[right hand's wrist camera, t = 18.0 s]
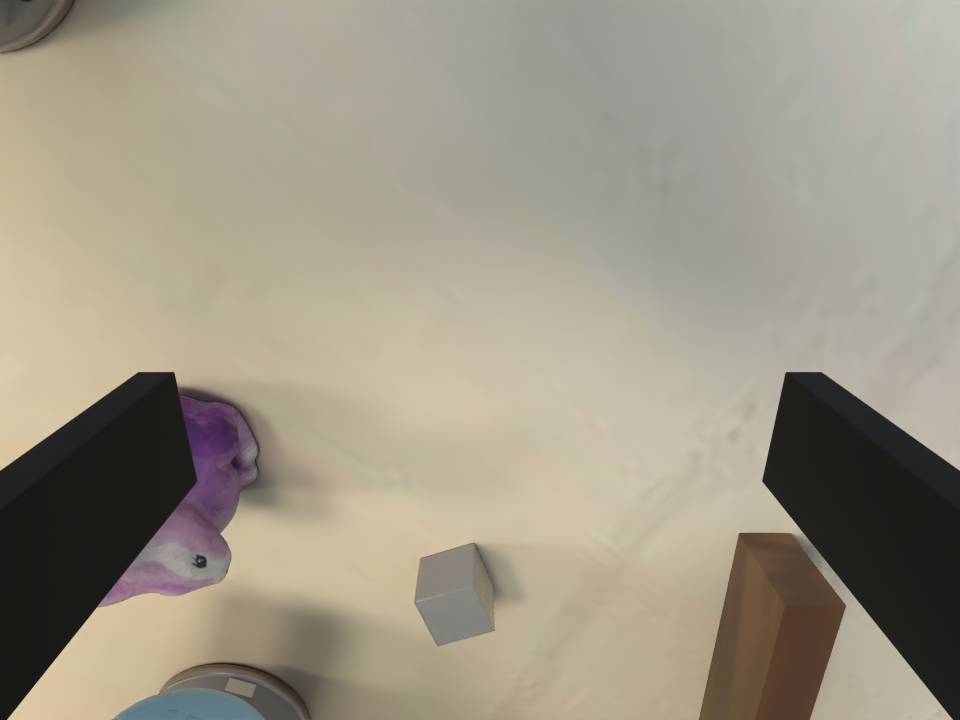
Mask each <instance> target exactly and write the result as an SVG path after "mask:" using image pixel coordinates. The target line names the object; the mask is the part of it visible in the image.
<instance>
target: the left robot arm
mask: <svg viewBox="0 0 960 720" xmlns="http://www.w3.org/2000/svg"><path fill="white" fill-rule="evenodd" d="M112 720H310V718H309V714H308V712H307V709H306V707H305V705H304V704H303V702H302V701H301V699H300V698H299V697H298V696H297V695H296V693H295V692H294V691H292V690H291V689H290V688H289V687H288V686H286V685H285V684H284V683H282V682H281V681H279V680H278V679H276V678H274V677H272V676H270V675H268V674H266V673H263V672H261V671H258V670H255V669H251V668H247V667H243V666H237V665H227V664H214V665H204V666H199V667H195V668H191V669H188V670H186V671H183V672H181V673H179V674H177V675H176V676H174V677H173V678H171V679H170V680H169V681H168V682H167V683H166V684H165V685H164V686H163V687H162V689H161V690H160V692H159V693H158V695H154V696H151V697H148V698H146V699H144V700H142V701H140V702H138V703H136V704H134V705H132V706H131V707H129V708H127V709H126V710H124V711H123V712H121V713H120V714H118V715H117V716H116V717H115V718H113V719H112Z"/></svg>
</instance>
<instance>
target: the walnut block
mask: <svg viewBox="0 0 960 720" xmlns="http://www.w3.org/2000/svg"><path fill="white" fill-rule="evenodd" d="M845 608H846V605H845V604H844V602H843V601H842V600H841V599H840V597H839V596H838V595H837V593H836V592H835V591H834V589H833V588H832V587H831V586H830V584H829V583H828V582H827V580H826V579H825V578H824V576H823V575H822V574H821V573H820V571H819V570H818V569H817V567H816V566H815V565H814V563H813V562H812V561H811V560H810V558H809V557H808V556H807V554H806V553H805V552H804V550H803V549H802V548H801V547H800V545H799V544H798V543H797V541H796V540H795V539H794V537H793V536H792V535H791V534H755V533H740V534H739V537H738V542H737V547H736V551H735V556H734V561H733V565H732V570H731V575H730V579H729V584H728V588H727V593H726V598H725V602H724V607H723V612H722V616H721V621H720V626H719V630H718V635H717V639H716V644H715V649H714V653H713V658H712V663H711V667H710V672H709V677H708V681H707V686H706V690H705V695H704V700H703V704H702V709H701V714H700V718H699V720H810V717H811V714H812V711H813V708H814V705H815V702H816V699H817V695H818V692H819V689H820V686H821V683H822V680H823V677H824V673H825V670H826V667H827V664H828V661H829V658H830V655H831V652H832V648H833V645H834V642H835V639H836V636H837V633H838V630H839V626H840V623H841V620H842V617H843V614H844V611H845Z"/></svg>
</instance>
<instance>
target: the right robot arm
mask: <svg viewBox="0 0 960 720" xmlns="http://www.w3.org/2000/svg"><path fill="white" fill-rule="evenodd" d="M72 2H73V0H0V53H1V52H7V51H13V50H16V49H19V48H23V47H25V46H27V45H30V44H32V43H34V42H36V41H37V40H39V39H41V38H42V37H44V36H45V35H46V34H47V33H49V32H50V31H51V30H52V29H53V28H54V27H55V26H56V25H57V24H58V23H59V22H60V21H61V20H62V18H63V17H64V15H65V14H66V13H67V11H68V9H69V8H70V6H71V4H72ZM197 482H198V480H197V476H196V471H195V466H194V462H193V457H192V452H191V448H190V443H189V439H188V434H187V429H186V425H185V420H184V415H183V411H182V406H181V401H180V397H179V392H178V388H177V383H176V378H175V374H174V372H138V373H137V374H135V375H134V376H133V377H131V378H130V379H128V380H127V381H126V382H124V383H123V384H121V385H120V386H119V387H117V388H116V389H114V390H113V391H111V392H110V393H109V394H107V395H106V396H104V397H103V398H102V399H100V400H99V401H97V402H96V403H95V404H93V405H92V406H90V407H89V408H88V409H86V410H85V411H83V412H82V413H81V414H79V415H78V416H76V417H75V418H74V419H72V420H71V421H69V422H68V423H67V424H65V425H64V426H62V427H61V428H60V429H58V430H57V431H55V432H54V433H53V434H51V435H50V436H48V437H47V438H46V439H44V440H43V441H41V442H40V443H39V444H37V445H36V446H34V447H33V448H32V449H30V450H29V451H27V452H26V453H25V454H23V455H22V456H20V457H19V458H18V459H16V460H15V461H13V462H12V463H11V464H9V465H8V466H6V467H5V468H4V469H2V470H1V471H0V720H7V719H8V718H9V717H10V715H11V714H12V713H13V712H14V710H15V709H16V708H17V707H18V705H19V704H20V703H21V702H22V700H23V699H24V698H25V697H26V695H27V694H28V693H29V692H30V690H31V689H32V688H33V687H34V685H35V684H36V683H37V682H38V680H39V679H40V678H41V677H42V675H43V674H44V673H45V672H46V670H47V669H48V668H49V667H50V665H51V664H52V663H53V662H54V660H55V659H56V658H57V657H58V655H59V654H60V653H61V652H62V650H63V649H64V648H65V647H66V645H67V644H68V643H69V642H70V640H71V639H72V638H73V637H74V635H75V634H76V633H77V632H78V630H79V629H80V628H81V627H82V625H83V624H84V623H85V622H86V620H87V619H88V618H89V617H90V615H91V614H92V613H93V612H94V610H95V609H96V608H97V607H98V605H99V604H100V603H101V602H102V600H103V599H104V598H105V597H106V595H107V594H108V593H109V592H110V590H111V589H112V588H113V587H114V585H115V584H116V583H117V582H118V580H119V579H120V578H121V577H122V575H123V574H124V573H125V572H126V570H127V569H128V568H129V567H130V565H131V564H132V563H133V562H134V560H135V559H136V558H137V557H138V555H139V554H140V553H141V552H142V550H143V549H144V548H145V547H146V545H147V544H148V543H149V542H150V540H151V539H152V538H153V537H154V535H155V534H156V533H157V532H158V530H159V529H160V528H161V527H162V525H163V524H164V523H165V522H166V520H167V519H168V518H169V517H170V515H171V514H172V513H173V512H174V510H175V509H176V508H177V507H178V505H179V504H180V503H181V502H182V500H183V499H184V498H185V497H186V495H187V494H188V493H189V492H190V490H191V489H192V488H193V487H194V485H195V484H196V483H197ZM762 482H763V483H764V484H765V485H766V487H767V488H768V489H769V490H770V492H771V493H772V494H773V495H774V497H775V498H776V499H777V500H778V502H779V503H780V504H781V505H782V507H783V508H784V509H785V510H786V512H787V513H788V514H789V515H790V517H791V518H792V519H793V520H794V522H795V523H796V524H797V525H798V527H799V528H800V529H801V530H802V532H803V533H804V534H805V535H806V537H807V538H808V539H809V540H810V542H811V543H812V544H813V545H814V547H815V548H816V549H817V550H818V552H819V553H820V554H821V555H822V557H823V558H824V559H825V560H826V562H827V563H828V564H829V565H830V567H831V568H832V569H833V570H834V572H835V573H836V574H837V575H838V577H839V578H840V579H841V580H842V582H843V583H844V584H845V585H846V587H847V588H848V589H849V590H850V592H851V593H852V594H853V595H854V597H855V598H856V599H857V600H858V602H859V603H860V604H861V605H862V607H863V608H864V609H865V610H866V612H867V613H868V614H869V615H870V617H871V618H872V619H873V620H874V622H875V623H876V624H877V625H878V627H879V628H880V629H881V630H882V632H883V633H884V634H885V635H886V637H887V638H888V639H889V640H890V642H891V643H892V644H893V645H894V647H895V648H896V649H897V650H898V652H899V653H900V654H901V655H902V657H903V658H904V659H905V660H906V662H907V663H908V664H909V665H910V667H911V668H912V669H913V670H914V672H915V673H916V674H917V675H918V677H919V678H920V679H921V680H922V682H923V683H924V684H925V685H926V687H927V688H928V689H929V690H930V692H931V693H932V694H933V695H934V697H935V698H936V699H937V700H938V702H939V703H940V704H941V705H942V707H943V708H944V709H945V710H946V712H947V713H948V714H949V715H950V717H951V718H952V719H953V720H960V471H959V470H958V469H956V468H955V467H954V466H952V465H951V464H949V463H948V462H947V461H945V460H944V459H942V458H941V457H940V456H938V455H937V454H935V453H934V452H933V451H931V450H930V449H928V448H927V447H926V446H924V445H923V444H921V443H920V442H919V441H917V440H916V439H914V438H913V437H912V436H910V435H909V434H907V433H906V432H905V431H903V430H902V429H900V428H899V427H898V426H896V425H895V424H893V423H892V422H891V421H889V420H888V419H886V418H885V417H884V416H882V415H881V414H879V413H878V412H877V411H875V410H874V409H872V408H871V407H870V406H868V405H867V404H865V403H864V402H863V401H861V400H860V399H858V398H857V397H856V396H854V395H853V394H851V393H850V392H849V391H847V390H846V389H844V388H843V387H841V386H840V385H839V384H837V383H836V382H834V381H833V380H832V379H830V378H829V377H827V376H826V375H825V374H823V373H822V372H786V374H785V378H784V383H783V388H782V392H781V397H780V401H779V406H778V411H777V415H776V420H775V425H774V429H773V434H772V439H771V443H770V448H769V452H768V457H767V462H766V466H765V471H764V476H763V480H762Z"/></svg>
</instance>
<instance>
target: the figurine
mask: <svg viewBox="0 0 960 720" xmlns="http://www.w3.org/2000/svg"><path fill="white" fill-rule="evenodd" d="M179 397H180V401H181V406H182V411H183V415H184V420H185V425H186V429H187V434H188V439H189V443H190V448H191V452H192V457H193V462H194V466H195V471H196V476H197V480H198V482H197V483H196V484H195V485H194V487H193V488H192V489H191V490H190V492H189V493H188V494H187V495H186V497H185V498H184V499H183V500H182V502H181V503H180V504H179V505H178V507H177V508H176V509H175V510H174V512H173V513H172V514H171V515H170V517H169V518H168V519H167V520H166V522H165V523H164V524H163V525H162V527H161V528H160V529H159V530H158V532H157V533H156V534H155V535H154V537H153V538H152V539H151V540H150V542H149V543H148V544H147V545H146V547H145V548H144V549H143V550H142V552H141V553H140V554H139V555H138V557H137V558H136V559H135V560H134V562H133V563H132V564H131V565H130V567H129V568H128V569H127V570H126V572H125V573H124V574H123V575H122V577H121V578H120V579H119V580H118V582H117V583H116V584H115V585H114V587H113V588H112V589H111V590H110V592H109V593H108V594H107V595H106V597H105V598H104V599H103V600H102V602H101V603H100V604H99V605H98V607H102V606H109V605H112V604H115V603H118V602H121V601H124V600H126V599H128V598H131V597H133V596H136V595H140V594H145V593H158V594H162V595H166V596H179V595H183V594H185V593H188V592H191V591H193V590H196V589H199V588H203V587H206V586H210V585H213V584H217V583H219V582H221V581H222V580H223V579H224V578H225V576H226V574H227V572H228V568H229V565H230V562H231V551H230V549H229V546H228V544H227V542H226V541H225V539H224V538H223V537H222V536H221V534H220V533H221V532H222V531H223V530H224V529H225V527H226V526H227V525H228V524H229V522H230V521H231V520H232V518H233V516H234V514H235V512H236V509H237V505H238V501H239V493H240V489H242V488H243V487H245V486H247V485H248V484H250V483H252V482H253V481H254V480H255V479H256V478H257V474H258V470H257V468H256V464H255V461H254V460H255V458H256V456H257V454H258V446H257V445H256V441H255V439H254V437H253V436H252V433H251V432H250V430H249V428H248V426H247V424H246V422H245V421H244V420H243V418H242V417H241V416H240V414H239V412H238V411H237V410H236V409H235V408H233V407H231V406H230V405H229V404H225V403H219V402H212V403H210V402H205V401H200V400H196V399H193V398H190V397H186V396H182V395H179Z"/></svg>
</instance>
